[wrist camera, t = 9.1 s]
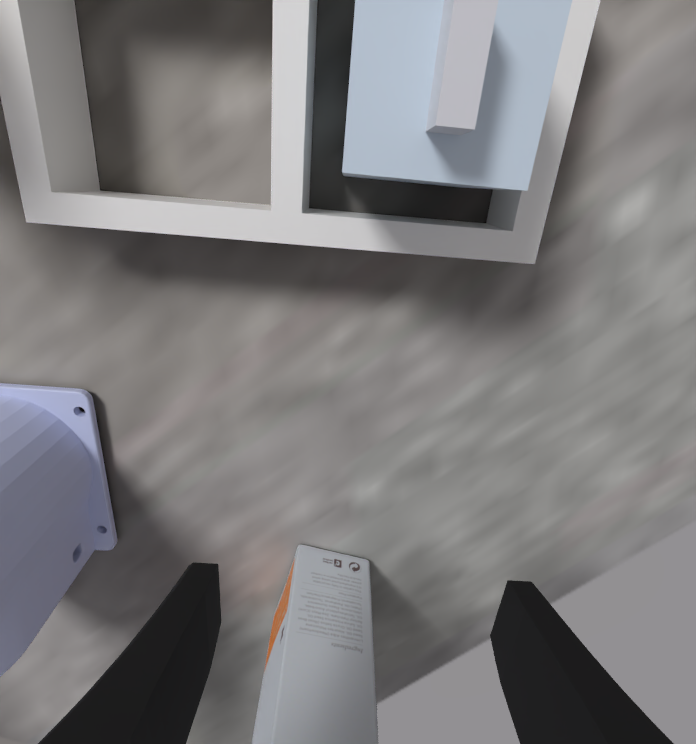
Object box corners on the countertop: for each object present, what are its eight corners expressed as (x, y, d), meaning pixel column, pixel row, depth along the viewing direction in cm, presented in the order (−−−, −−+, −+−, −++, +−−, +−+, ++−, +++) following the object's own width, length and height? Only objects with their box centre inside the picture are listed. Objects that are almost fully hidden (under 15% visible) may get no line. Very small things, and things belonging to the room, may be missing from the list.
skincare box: (296, 540, 24) (254, 847, 13) (370, 557, 24) (391, 866, 13) (271, 614, 26) (216, 927, 15) (339, 628, 27) (334, 941, 16)
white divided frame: (505, 251, 18) (534, 264, 15) (77, 215, 17) (26, 222, 14) (573, -59, 14) (629, -120, 11) (24, -119, 13) (-61, -199, 10)
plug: (457, 187, 17) (549, 192, 9) (343, 176, 17) (341, 171, 9) (482, 49, 15) (619, -86, 7) (354, 35, 15) (363, -118, 7)
